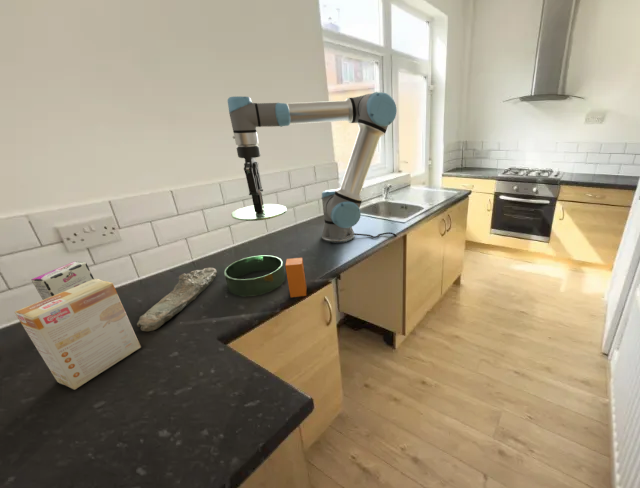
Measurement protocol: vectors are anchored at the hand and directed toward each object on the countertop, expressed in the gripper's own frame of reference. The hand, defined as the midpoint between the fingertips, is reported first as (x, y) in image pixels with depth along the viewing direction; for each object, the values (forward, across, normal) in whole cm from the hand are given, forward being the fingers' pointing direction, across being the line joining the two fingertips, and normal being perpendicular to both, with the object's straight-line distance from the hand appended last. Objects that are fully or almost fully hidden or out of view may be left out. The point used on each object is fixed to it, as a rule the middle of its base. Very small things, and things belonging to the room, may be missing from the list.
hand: (259, 210), depth 121 cm
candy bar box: (+22, +31, -49) cm, 62 cm away
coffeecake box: (+22, +53, -32) cm, 66 cm away
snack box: (+21, +30, +14) cm, 39 cm away
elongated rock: (+22, +25, -23) cm, 41 cm away
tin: (+21, +19, -1) cm, 29 cm away
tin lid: (+1, 0, 0) cm, 1 cm away
